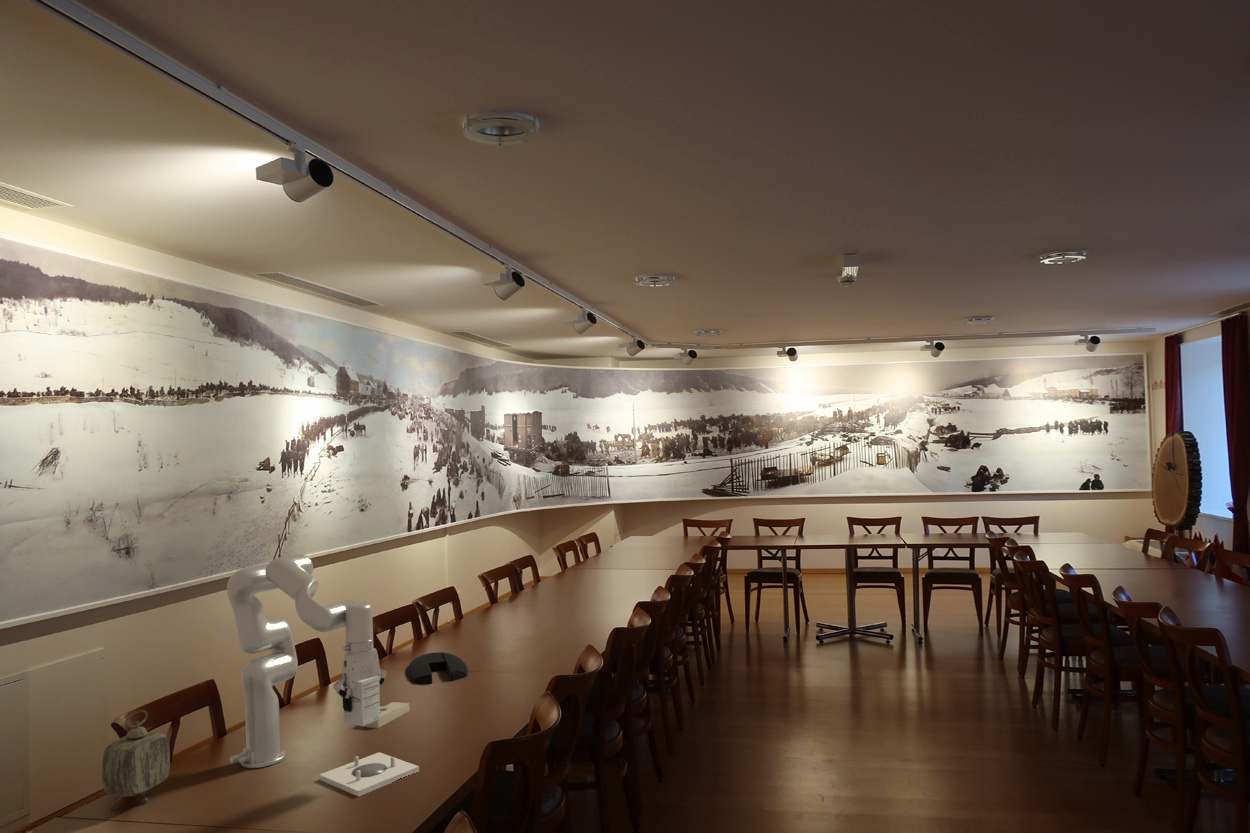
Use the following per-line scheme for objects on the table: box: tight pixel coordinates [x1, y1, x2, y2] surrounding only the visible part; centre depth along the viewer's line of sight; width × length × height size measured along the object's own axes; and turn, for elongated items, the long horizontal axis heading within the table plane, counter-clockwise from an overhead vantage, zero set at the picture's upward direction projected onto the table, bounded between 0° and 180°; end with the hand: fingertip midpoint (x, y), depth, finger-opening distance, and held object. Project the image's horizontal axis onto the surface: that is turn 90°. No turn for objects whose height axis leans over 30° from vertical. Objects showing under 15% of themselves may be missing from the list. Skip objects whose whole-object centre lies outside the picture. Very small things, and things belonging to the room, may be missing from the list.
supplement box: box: [343, 676, 381, 727], centre depth 232 cm, size 7×7×13 cm
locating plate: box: [318, 752, 420, 797], centre depth 232 cm, size 20×20×4 cm
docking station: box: [406, 651, 469, 685], centre depth 343 cm, size 25×41×5 cm, turn 19°
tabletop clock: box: [101, 709, 171, 811], centre depth 220 cm, size 14×9×25 cm, turn 163°
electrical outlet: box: [361, 701, 410, 729], centre depth 282 cm, size 7×4×18 cm
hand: (361, 706), depth 232 cm, fingers closed on supplement box, 8 cm apart
